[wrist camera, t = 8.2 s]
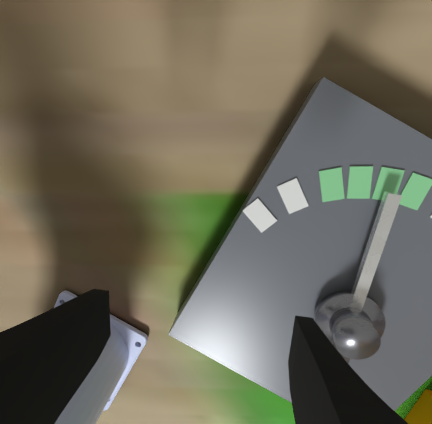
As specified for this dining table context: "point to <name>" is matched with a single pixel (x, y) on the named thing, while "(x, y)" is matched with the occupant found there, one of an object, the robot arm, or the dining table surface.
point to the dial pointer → (360, 296)
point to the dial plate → (323, 248)
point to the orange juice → (421, 410)
